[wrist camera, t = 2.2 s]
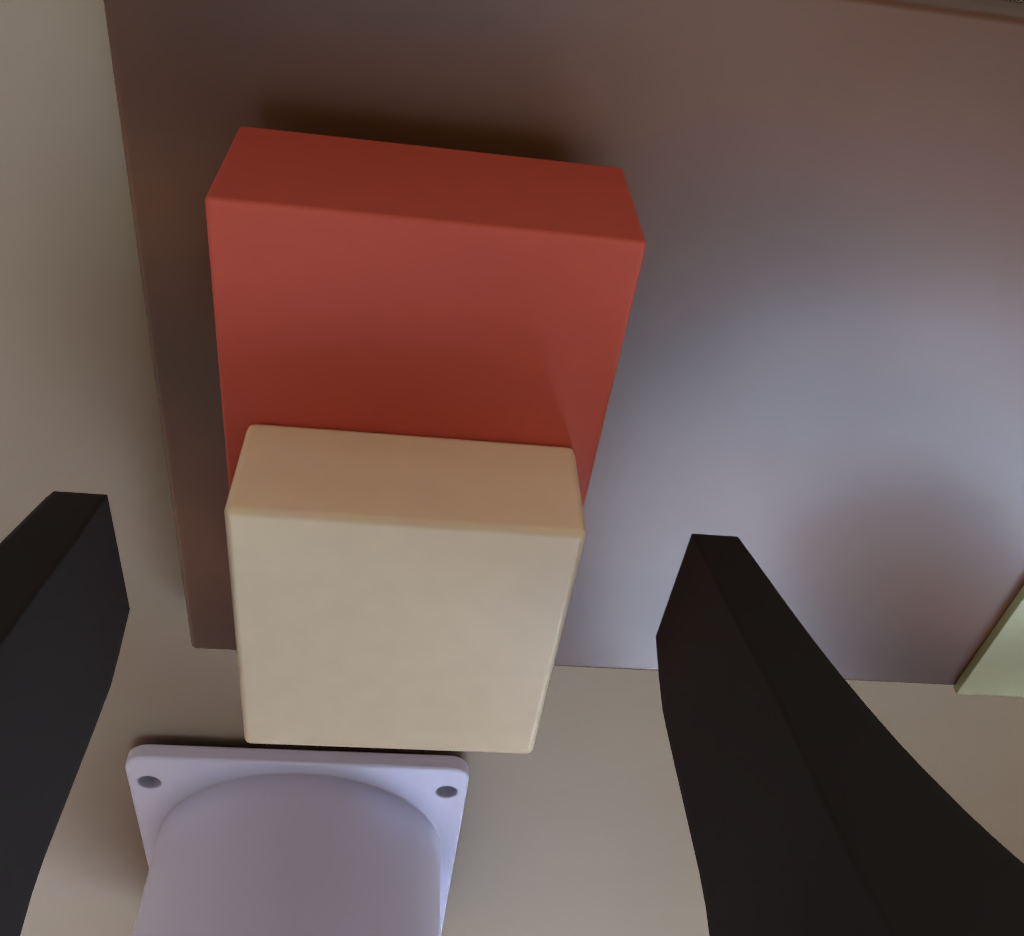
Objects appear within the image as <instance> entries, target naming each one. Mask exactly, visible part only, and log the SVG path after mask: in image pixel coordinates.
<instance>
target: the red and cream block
mask: <svg viewBox="0 0 1024 936" xmlns="http://www.w3.org/2000/svg"><path fill="white" fill-rule="evenodd" d="M205 207H206V219H207V231H208V243H209V255H210V267H211V279H212V291H213V303H214V315H215V327H216V339H217V351H218V363H219V375H220V387H221V399H222V411H223V423H224V435H225V447H226V459H227V471H228V482H229V496H228V499H227V503H226V506H225V510H224V514H225V525H226V536H227V547H228V558H229V570H230V581H231V592H232V603H233V614H234V625H235V636H236V648H237V659H238V670H239V681H240V692H241V703H242V715H243V726H244V736H245V740H246V741H247V742H249V743H257V744H284V745H310V746H337V747H363V748H390V749H416V750H443V751H469V752H495V753H522V754H527V753H530V752H531V751H532V749H533V746H534V742H535V738H536V734H537V730H538V726H539V722H540V718H541V714H542V710H543V706H544V702H545V698H546V694H547V690H548V686H549V682H550V678H551V674H552V670H553V666H554V662H555V658H556V654H557V650H558V646H559V642H560V638H561V634H562V630H563V626H564V622H565V618H566V614H567V610H568V606H569V602H570V597H571V593H572V589H573V585H574V581H575V577H576V573H577V569H578V565H579V561H580V557H581V553H582V549H583V545H584V541H585V537H586V530H585V523H584V516H583V507H584V502H585V498H586V494H587V490H588V486H589V482H590V477H591V473H592V469H593V465H594V461H595V457H596V452H597V448H598V444H599V440H600V436H601V432H602V427H603V423H604V419H605V415H606V411H607V407H608V402H609V398H610V394H611V390H612V386H613V382H614V377H615V373H616V369H617V365H618V361H619V357H620V352H621V348H622V344H623V340H624V336H625V332H626V327H627V323H628V319H629V315H630V311H631V307H632V302H633V298H634V294H635V290H636V286H637V282H638V277H639V273H640V269H641V265H642V261H643V257H644V252H645V248H646V240H645V237H644V234H643V231H642V228H641V225H640V222H639V219H638V216H637V212H636V209H635V206H634V203H633V200H632V197H631V194H630V191H629V188H628V185H627V181H626V178H625V175H624V172H623V169H621V168H616V167H607V166H598V165H589V164H580V163H571V162H562V161H553V160H544V159H535V158H526V157H517V156H508V155H498V154H489V153H480V152H471V151H462V150H453V149H444V148H435V147H426V146H417V145H408V144H399V143H390V142H381V141H372V140H362V139H353V138H344V137H335V136H326V135H317V134H308V133H299V132H290V131H281V130H272V129H263V128H254V127H245V126H242V127H240V128H239V130H238V132H237V134H236V136H235V138H234V140H233V142H232V144H231V146H230V148H229V150H228V152H227V154H226V157H225V159H224V161H223V163H222V165H221V167H220V169H219V171H218V173H217V175H216V177H215V179H214V181H213V183H212V186H211V188H210V190H209V192H208V194H207V196H206V198H205Z"/></svg>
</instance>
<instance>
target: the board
mask: <svg viewBox="0 0 1024 936" xmlns="http://www.w3.org/2000/svg"><path fill="white" fill-rule="evenodd" d="M104 6H105V13H106V20H107V28H108V35H109V42H110V50H111V57H112V64H113V72H114V79H115V86H116V94H117V101H118V108H119V116H120V123H121V130H122V138H123V145H124V152H125V160H126V167H127V174H128V182H129V189H130V196H131V204H132V211H133V218H134V226H135V233H136V240H137V248H138V255H139V262H140V270H141V277H142V284H143V292H144V299H145V306H146V314H147V321H148V328H149V336H150V343H151V350H152V358H153V365H154V372H155V380H156V387H157V394H158V402H159V409H160V416H161V424H162V431H163V438H164V446H165V453H166V460H167V468H168V475H169V482H170V490H171V497H172V504H173V512H174V519H175V526H176V534H177V541H178V548H179V556H180V563H181V570H182V578H183V585H184V592H185V600H186V607H187V614H188V622H189V629H190V636H191V643H192V646H193V647H195V648H208V649H228V650H237V648H236V636H235V625H234V614H233V603H232V592H231V581H230V570H229V558H228V547H227V536H226V525H225V514H224V510H225V506H226V503H227V499H228V496H229V482H228V471H227V459H226V447H225V435H224V423H223V411H222V399H221V387H220V375H219V363H218V351H217V339H216V327H215V315H214V303H213V291H212V279H211V267H210V255H209V243H208V231H207V219H206V207H205V198H206V196H207V194H208V192H209V190H210V188H211V186H212V183H213V181H214V179H215V177H216V175H217V173H218V171H219V169H220V167H221V165H222V163H223V161H224V159H225V157H226V154H227V152H228V150H229V148H230V146H231V144H232V142H233V140H234V138H235V136H236V134H237V132H238V130H239V128H240V127H242V126H245V127H254V128H263V129H272V130H281V131H290V132H299V133H308V134H317V135H326V136H335V137H344V138H353V139H362V140H372V141H381V142H390V143H399V144H408V145H417V146H426V147H435V148H444V149H453V150H462V151H471V152H480V153H489V154H498V155H508V156H517V157H526V158H535V159H544V160H553V161H562V162H571V163H580V164H589V165H598V166H607V167H616V168H621V169H623V172H624V175H625V178H626V181H627V185H628V188H629V191H630V194H631V197H632V200H633V203H634V206H635V209H636V212H637V216H638V219H639V222H640V225H641V228H642V231H643V234H644V237H645V240H646V248H645V252H644V257H643V261H642V265H641V269H640V273H639V277H638V282H637V286H636V290H635V294H634V298H633V302H632V307H631V311H630V315H629V319H628V323H627V327H626V332H625V336H624V340H623V344H622V348H621V352H620V357H619V361H618V365H617V369H616V373H615V377H614V382H613V386H612V390H611V394H610V398H609V402H608V407H607V411H606V415H605V419H604V423H603V427H602V432H601V436H600V440H599V444H598V448H597V452H596V457H595V461H594V465H593V469H592V473H591V477H590V482H589V486H588V490H587V494H586V498H585V502H584V507H583V516H584V523H585V530H586V537H585V541H584V545H583V549H582V553H581V557H580V561H579V565H578V569H577V573H576V577H575V581H574V585H573V589H572V593H571V597H570V602H569V606H568V610H567V614H566V618H565V622H564V626H563V630H562V634H561V638H560V642H559V646H558V650H557V654H556V658H555V662H554V665H557V666H577V667H598V668H618V669H639V670H658V660H657V648H656V634H657V631H658V628H659V626H660V623H661V620H662V617H663V614H664V611H665V608H666V606H667V603H668V600H669V597H670V594H671V591H672V588H673V586H674V583H675V580H676V577H677V574H678V571H679V568H680V566H681V563H682V560H683V557H684V554H685V551H686V548H687V546H688V543H689V540H690V537H691V534H706V535H721V536H736V537H738V538H739V539H740V540H741V542H742V543H743V544H744V546H745V547H746V548H747V550H748V551H749V552H750V554H751V555H752V556H753V558H754V559H755V561H756V562H757V563H758V565H759V566H760V567H761V569H762V570H763V572H764V573H765V574H766V576H767V577H768V579H769V580H770V581H771V583H772V584H773V586H774V587H775V588H776V590H777V591H778V592H779V594H780V595H781V597H782V598H783V599H784V601H785V602H786V603H787V605H788V606H789V607H790V609H791V610H792V612H793V613H794V614H795V616H796V617H797V618H798V620H799V621H800V622H801V624H802V625H803V626H804V628H805V629H806V630H807V632H808V633H809V634H810V636H811V637H812V638H813V640H814V641H815V642H816V644H817V645H818V646H819V647H820V649H821V650H822V651H823V652H824V654H825V655H826V656H827V658H828V659H829V660H830V661H831V663H832V664H833V665H834V666H835V668H836V669H837V670H838V672H839V673H840V674H841V675H842V677H843V678H844V679H845V680H865V681H885V682H906V683H926V684H947V685H954V689H955V691H956V693H957V694H972V695H993V696H1014V697H1024V3H1019V2H1012V1H1004V0H104Z"/></svg>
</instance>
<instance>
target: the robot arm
mask: <svg viewBox="0 0 1024 936" xmlns="http://www.w3.org/2000/svg"><path fill="white" fill-rule="evenodd" d="M129 610H130V608H129V603H128V598H127V593H126V588H125V583H124V578H123V573H122V567H121V562H120V557H119V552H118V547H117V542H116V537H115V532H114V527H113V522H112V517H111V512H110V507H109V501H108V496H107V495H103V494H88V493H73V492H57V491H54V492H53V493H51V494H50V495H49V496H48V497H46V498H45V499H44V500H43V501H42V502H41V503H40V504H39V505H38V506H37V507H36V508H35V509H34V510H33V511H32V512H31V513H30V514H29V515H28V516H27V517H26V518H25V519H24V520H23V521H22V522H21V523H20V524H19V525H18V526H17V527H16V528H15V529H14V530H13V531H12V532H11V533H10V534H9V535H8V536H7V537H6V538H5V539H4V540H3V541H2V542H1V543H0V936H20V934H21V930H22V927H23V923H24V920H25V916H26V913H27V909H28V905H29V902H30V898H31V895H32V892H33V889H34V886H35V883H36V880H37V877H38V874H39V871H40V868H41V866H42V863H43V860H44V857H45V854H46V852H47V849H48V846H49V844H50V841H51V839H52V836H53V834H54V831H55V828H56V826H57V823H58V821H59V818H60V816H61V813H62V811H63V808H64V805H65V803H66V800H67V798H68V795H69V793H70V790H71V788H72V785H73V782H74V780H75V777H76V775H77V772H78V770H79V767H80V765H81V762H82V759H83V757H84V754H85V752H86V749H87V747H88V744H89V741H90V739H91V736H92V734H93V731H94V728H95V726H96V723H97V721H98V718H99V715H100V713H101V710H102V708H103V705H104V702H105V700H106V697H107V694H108V692H109V689H110V686H111V683H112V679H113V675H114V671H115V667H116V663H117V660H118V656H119V652H120V648H121V643H122V639H123V635H124V631H125V627H126V622H127V618H128V614H129ZM656 648H657V660H658V671H659V681H660V690H661V699H662V708H663V714H664V718H665V723H666V728H667V732H668V737H669V741H670V746H671V750H672V755H673V759H674V764H675V768H676V773H677V777H678V781H679V786H680V790H681V794H682V799H683V803H684V807H685V812H686V816H687V820H688V825H689V829H690V833H691V838H692V842H693V847H694V851H695V855H696V860H697V864H698V868H699V873H700V878H701V884H702V889H703V894H704V900H705V905H706V911H707V919H708V927H709V935H710V936H1024V864H1023V863H1022V862H1021V861H1020V860H1019V859H1017V858H1016V857H1015V856H1014V855H1013V854H1012V853H1011V852H1010V851H1008V850H1007V849H1006V848H1005V847H1004V846H1003V845H1002V844H1001V843H999V842H998V841H997V840H996V839H995V838H994V837H993V836H991V835H990V834H989V833H988V832H987V831H986V830H985V829H984V828H983V827H982V826H981V825H980V824H979V823H978V822H977V821H975V820H974V819H973V818H972V817H971V816H970V815H969V814H968V813H967V812H966V811H965V810H964V809H963V808H962V807H961V806H960V805H959V804H958V803H957V802H956V801H955V800H954V799H953V798H952V797H951V796H950V795H949V794H948V793H947V792H946V791H945V790H944V789H943V788H942V787H941V786H940V785H939V784H938V783H937V782H936V781H935V780H934V779H933V778H932V777H931V776H930V775H929V774H928V773H927V772H926V771H925V770H924V769H923V768H922V767H921V766H920V765H919V764H918V763H917V762H916V761H915V760H914V759H913V757H912V756H911V755H910V754H909V753H908V752H907V751H906V750H905V749H904V748H903V747H902V746H901V745H900V744H899V742H898V741H897V740H896V739H895V738H894V737H893V736H892V735H891V733H890V732H889V731H888V730H887V729H886V728H885V727H884V725H883V724H882V723H881V722H880V721H879V720H878V718H877V717H876V716H875V715H874V714H873V713H872V712H871V710H870V709H869V708H868V707H867V706H866V705H865V704H864V702H863V701H862V700H861V699H860V697H859V696H858V695H857V694H856V693H855V691H854V690H853V689H852V688H851V687H850V685H849V684H848V683H847V682H846V680H845V679H844V678H843V677H842V675H841V674H840V673H839V672H838V670H837V669H836V668H835V666H834V665H833V664H832V663H831V661H830V660H829V659H828V658H827V656H826V655H825V654H824V652H823V651H822V650H821V649H820V647H819V646H818V645H817V644H816V642H815V641H814V640H813V638H812V637H811V636H810V634H809V633H808V632H807V630H806V629H805V628H804V626H803V625H802V624H801V622H800V621H799V620H798V618H797V617H796V616H795V614H794V613H793V612H792V610H791V609H790V607H789V606H788V605H787V603H786V602H785V601H784V599H783V598H782V597H781V595H780V594H779V592H778V591H777V590H776V588H775V587H774V586H773V584H772V583H771V581H770V580H769V579H768V577H767V576H766V574H765V573H764V572H763V570H762V569H761V567H760V566H759V565H758V563H757V562H756V561H755V559H754V558H753V556H752V555H751V554H750V552H749V551H748V550H747V548H746V547H745V546H744V544H743V543H742V542H741V540H740V539H739V538H738V537H736V536H721V535H706V534H691V537H690V540H689V543H688V546H687V548H686V551H685V554H684V557H683V560H682V563H681V566H680V568H679V571H678V574H677V577H676V580H675V583H674V586H673V588H672V591H671V594H670V597H669V600H668V603H667V606H666V608H665V611H664V614H663V617H662V620H661V623H660V626H659V628H658V631H657V634H656ZM125 769H126V773H127V777H128V782H129V786H130V790H131V794H132V799H133V803H134V807H135V811H136V815H137V820H138V824H139V828H140V832H141V837H142V841H143V845H144V849H145V853H146V858H147V862H148V866H149V872H148V876H147V880H146V883H145V887H144V891H143V895H142V899H141V903H140V906H139V910H138V914H137V918H136V922H135V926H134V930H133V933H132V936H441V932H442V926H443V921H444V915H445V910H446V904H447V898H448V893H449V887H450V882H451V876H452V871H453V865H454V860H455V854H456V848H457V843H458V837H459V832H460V826H461V821H462V815H463V810H464V804H465V798H466V793H467V787H468V782H469V766H468V763H467V762H466V761H465V760H463V759H461V758H459V757H457V756H450V755H425V754H398V753H371V752H344V751H317V750H291V749H264V748H237V747H210V746H183V745H156V744H145V745H140V746H137V747H134V748H133V749H132V750H131V751H130V752H129V754H128V758H127V761H126V765H125Z"/></svg>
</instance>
